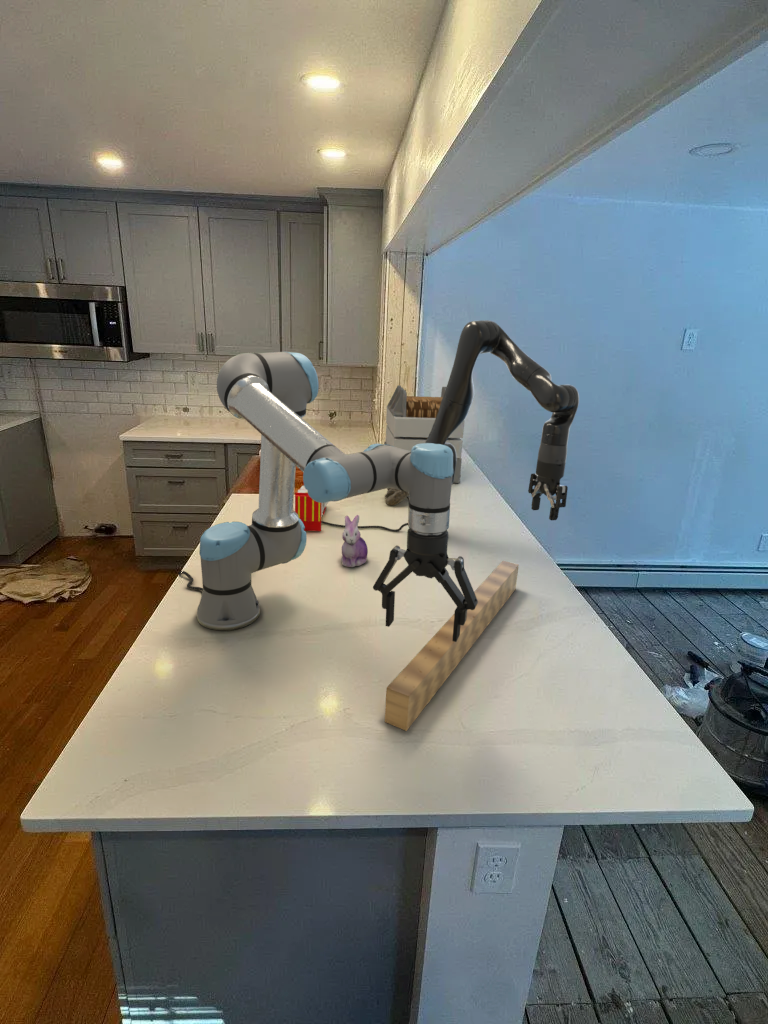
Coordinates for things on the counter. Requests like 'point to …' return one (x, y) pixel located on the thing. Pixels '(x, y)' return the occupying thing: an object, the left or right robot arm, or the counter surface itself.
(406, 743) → the counter surface
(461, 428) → the transformer
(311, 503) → the toy
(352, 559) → the figurine
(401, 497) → the fossil
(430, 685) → the post
